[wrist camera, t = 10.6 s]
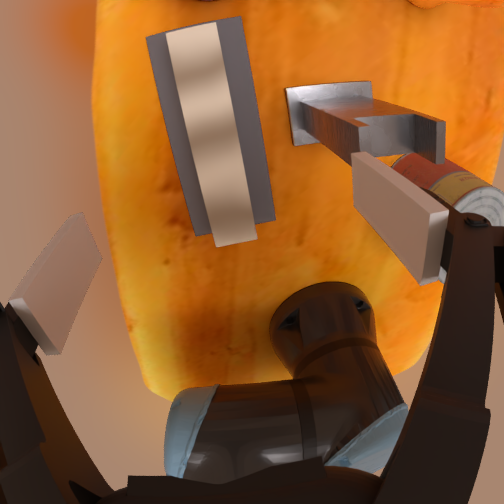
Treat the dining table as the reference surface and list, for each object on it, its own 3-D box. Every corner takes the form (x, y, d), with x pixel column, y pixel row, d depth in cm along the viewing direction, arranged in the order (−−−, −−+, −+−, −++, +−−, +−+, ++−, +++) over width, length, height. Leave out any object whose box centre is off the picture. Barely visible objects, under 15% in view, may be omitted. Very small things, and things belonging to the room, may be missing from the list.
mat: (275, 217, 36) (276, 220, 36) (196, 233, 36) (195, 236, 36) (240, 17, 25) (240, 16, 24) (147, 37, 25) (145, 37, 24)
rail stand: (372, 134, 32) (455, 181, 20) (292, 144, 32) (344, 199, 20) (343, -53, 20) (418, -103, 8) (257, -53, 20) (287, -125, 8)
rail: (252, 216, 35) (257, 239, 31) (215, 223, 35) (216, 247, 31) (215, 29, 25) (215, 22, 20) (173, 39, 25) (165, 33, 20)
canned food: (456, 209, 38) (511, 255, 28) (392, 245, 40) (438, 303, 30) (442, 135, 33) (509, 169, 22) (368, 172, 35) (424, 219, 24)
